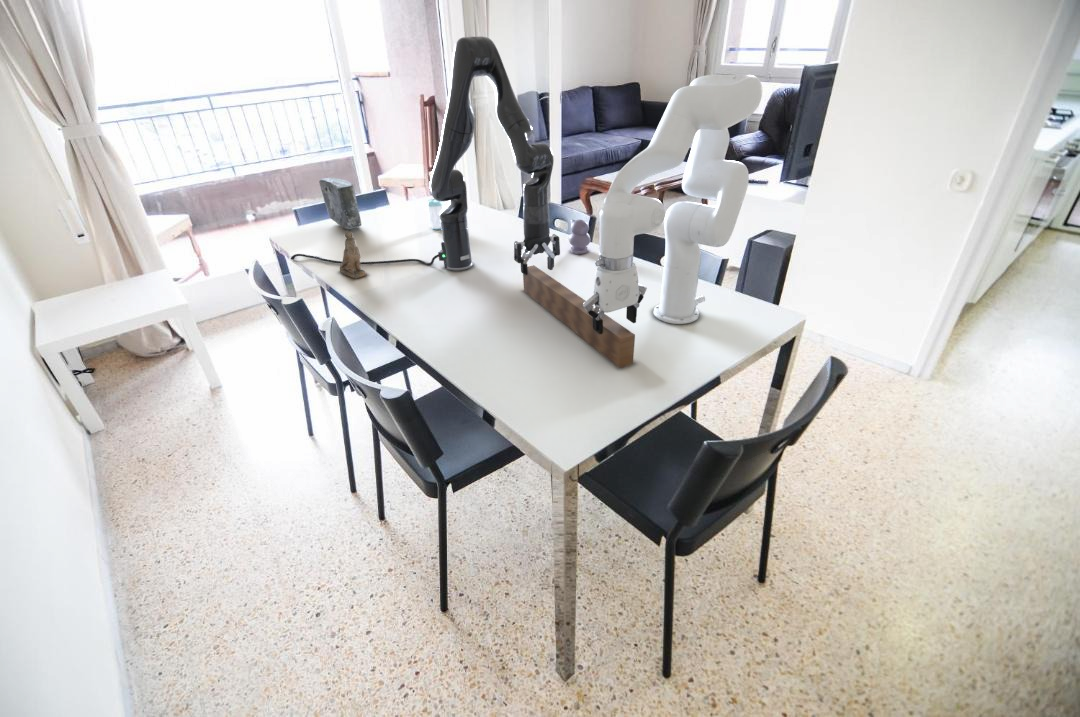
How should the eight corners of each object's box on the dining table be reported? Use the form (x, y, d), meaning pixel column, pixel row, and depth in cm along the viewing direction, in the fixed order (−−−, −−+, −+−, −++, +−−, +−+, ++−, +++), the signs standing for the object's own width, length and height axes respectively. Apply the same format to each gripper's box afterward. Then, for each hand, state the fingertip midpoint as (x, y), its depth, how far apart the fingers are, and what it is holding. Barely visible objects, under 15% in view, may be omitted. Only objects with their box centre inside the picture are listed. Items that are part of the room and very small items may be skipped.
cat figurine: (594, 250, 190) (595, 219, 184) (581, 256, 185) (582, 224, 179) (577, 246, 195) (577, 215, 189) (564, 251, 190) (564, 220, 184)
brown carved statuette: (368, 281, 178) (362, 235, 166) (353, 285, 175) (347, 238, 163) (352, 266, 184) (346, 221, 172) (338, 270, 181) (331, 224, 169)
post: (523, 291, 160) (522, 267, 156) (535, 288, 162) (534, 265, 157) (619, 368, 119) (621, 339, 115) (633, 363, 121) (635, 334, 117)
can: (445, 229, 220) (441, 202, 214) (429, 230, 220) (425, 202, 214) (447, 224, 226) (444, 198, 220) (432, 225, 226) (428, 198, 220)
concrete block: (366, 231, 222) (356, 185, 212) (347, 235, 218) (335, 188, 207) (347, 218, 241) (337, 175, 230) (329, 222, 236) (318, 178, 226)
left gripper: (519, 226, 137) (522, 280, 146) (564, 218, 142) (564, 271, 151) (508, 219, 143) (511, 272, 151) (552, 212, 148) (552, 263, 157)
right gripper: (592, 275, 106) (592, 343, 116) (657, 256, 112) (652, 322, 122) (574, 264, 112) (576, 329, 121) (637, 247, 118) (634, 310, 127)
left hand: (537, 271), depth 151 cm, fingers open, 8 cm apart
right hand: (614, 326), depth 121 cm, fingers open, 9 cm apart
